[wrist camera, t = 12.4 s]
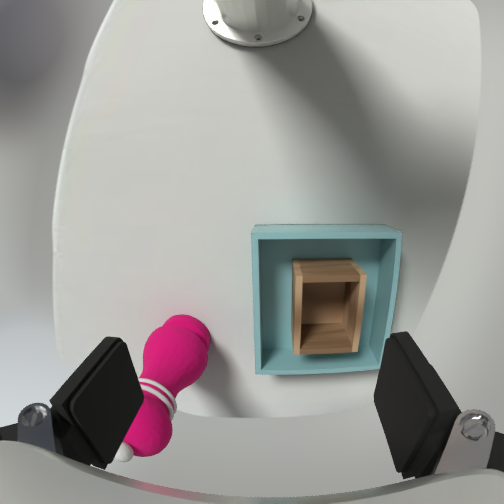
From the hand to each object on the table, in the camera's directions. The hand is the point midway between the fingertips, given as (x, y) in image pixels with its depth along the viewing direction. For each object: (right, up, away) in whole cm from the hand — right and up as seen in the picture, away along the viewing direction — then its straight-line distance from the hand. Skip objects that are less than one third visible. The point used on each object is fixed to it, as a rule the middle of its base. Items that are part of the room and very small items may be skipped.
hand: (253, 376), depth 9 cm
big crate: (+8, 0, +22) cm, 24 cm away
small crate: (+7, 0, +22) cm, 23 cm away
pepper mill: (-8, -6, +25) cm, 27 cm away
